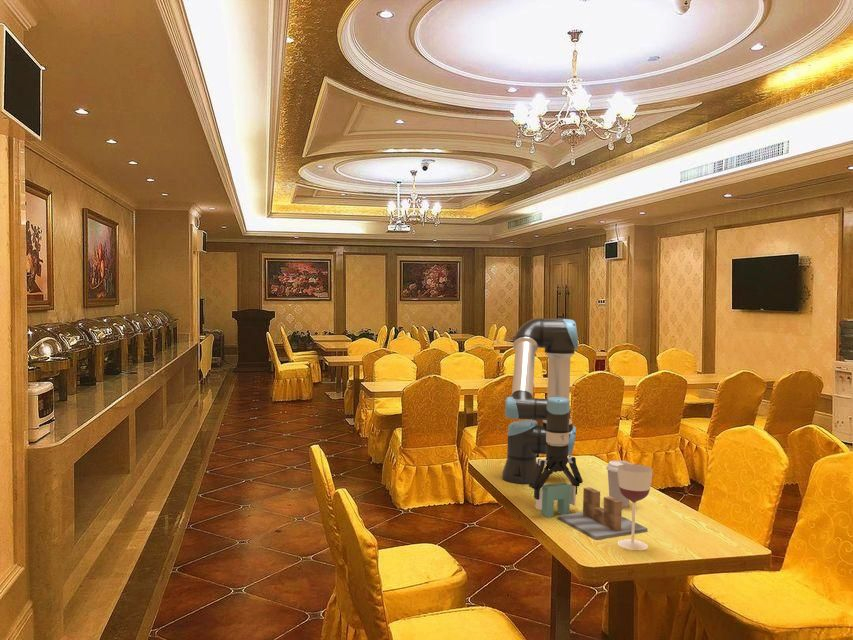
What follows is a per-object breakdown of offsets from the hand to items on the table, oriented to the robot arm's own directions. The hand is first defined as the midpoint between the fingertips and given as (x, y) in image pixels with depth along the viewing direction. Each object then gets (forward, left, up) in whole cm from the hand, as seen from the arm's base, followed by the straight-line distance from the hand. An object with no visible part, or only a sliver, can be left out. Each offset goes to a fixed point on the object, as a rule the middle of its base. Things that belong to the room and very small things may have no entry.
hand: (555, 506), depth 221 cm
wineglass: (+31, +6, -3) cm, 32 cm away
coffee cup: (0, +27, -3) cm, 27 cm away
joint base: (+14, +8, -3) cm, 16 cm away
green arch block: (0, 0, -3) cm, 3 cm away
